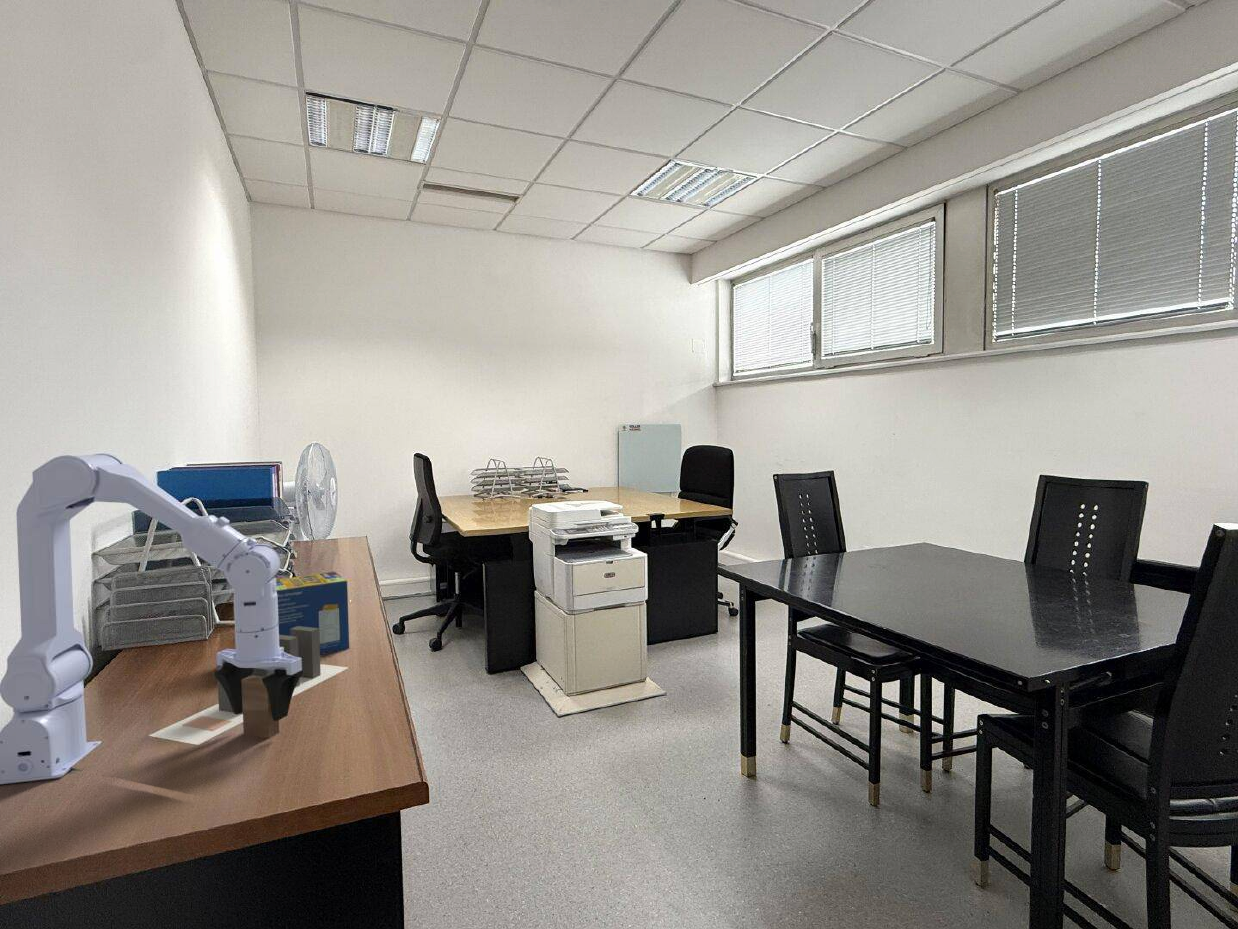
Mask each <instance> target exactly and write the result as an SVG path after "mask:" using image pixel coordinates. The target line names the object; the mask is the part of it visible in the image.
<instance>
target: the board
mask: <svg viewBox="0 0 1238 929" xmlns="http://www.w3.org/2000/svg"><path fill="white" fill-rule="evenodd" d="M347 669H349V667H348V666H340V665H332V664H331V665H330V664H323V663H322V664H321V663H320V672H321V675H320V676H318V677H316V678H314V679H311V678H303V677H300V678H299V681H300V686H298V687H296V688H295V689H294V692H293V695H292V698H293V697H295V696H297V695H299V694H301V693H302V692H305V691H306V690H309V689H310V688H312V687H315V686H316V685H319V684H321V683H322V682H324V681H326V680H329V679H330V678H333V677H335V675H338V674H340V673H341V672H344V671H346V670H347ZM240 724H243V714H238V715H237V714H234V713H232V712H226V711H220V710H219V702H218V703H217V704H214V705H212V706H210V707H207V708H206V709H204V710H201V711H199V712H196V713H195V714H192V715H191V716H189V717H188V716H187V717H186V718H184V719H182V720H179V721H177V722H175V723H173V724H171V725H168V726H167V727H164V728H161V729H160V730H157V731H155V732H154V733H151V734H149V735H148V737H153V738H157V739H163V740H168V741H174V742H180V743H184V744H188V745H189V744H190V745H195V746H200V745H201V744H203V743H205V742H207V741H208V740H211V739H213V738H215V737H218V735H220V734H222V733H225V732H227V731H229V730H231V729H233V728H234V727H237V726H238V725H240Z"/></svg>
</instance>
